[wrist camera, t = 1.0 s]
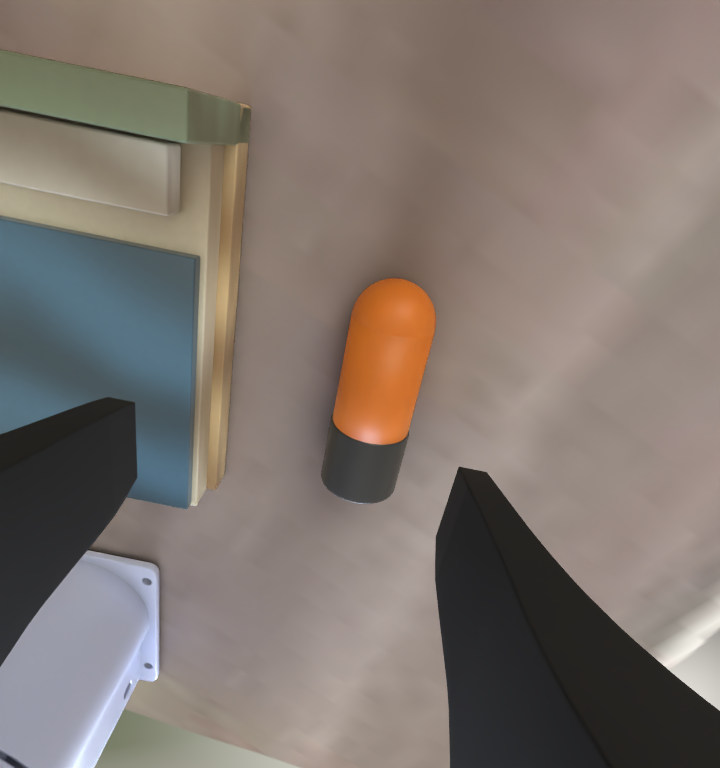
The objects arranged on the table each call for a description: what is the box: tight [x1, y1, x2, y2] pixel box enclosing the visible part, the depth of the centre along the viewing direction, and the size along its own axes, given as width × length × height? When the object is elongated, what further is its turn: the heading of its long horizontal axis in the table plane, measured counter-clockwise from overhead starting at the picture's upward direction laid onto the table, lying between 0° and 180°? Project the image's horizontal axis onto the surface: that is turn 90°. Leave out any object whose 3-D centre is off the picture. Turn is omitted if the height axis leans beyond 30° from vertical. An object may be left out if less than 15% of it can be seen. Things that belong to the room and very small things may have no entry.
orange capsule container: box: [321, 278, 436, 504], centre depth 18 cm, size 9×3×3 cm, turn 170°
